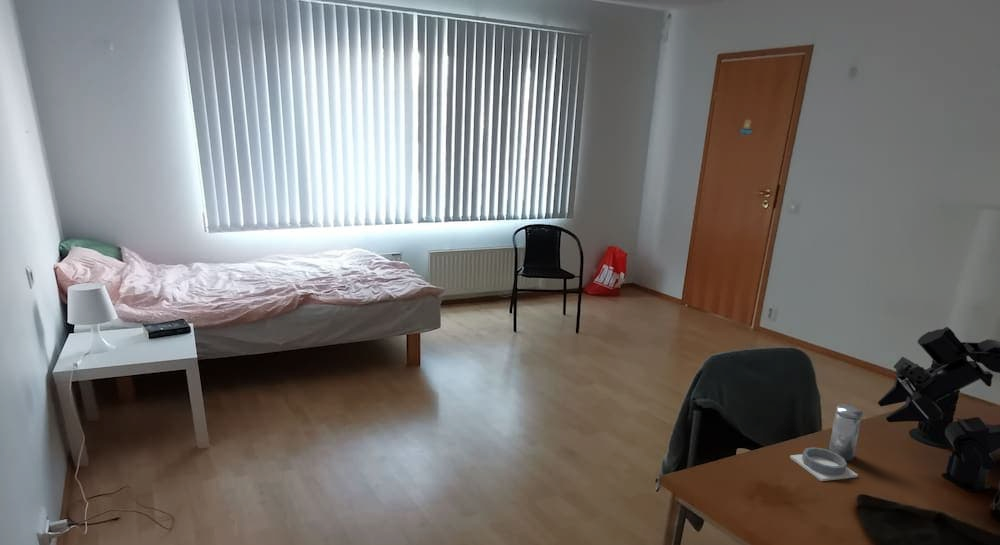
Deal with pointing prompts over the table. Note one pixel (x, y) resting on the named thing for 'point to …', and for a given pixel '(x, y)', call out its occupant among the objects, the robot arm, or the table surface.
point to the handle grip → (936, 431)
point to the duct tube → (845, 431)
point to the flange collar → (824, 464)
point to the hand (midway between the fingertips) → (882, 412)
